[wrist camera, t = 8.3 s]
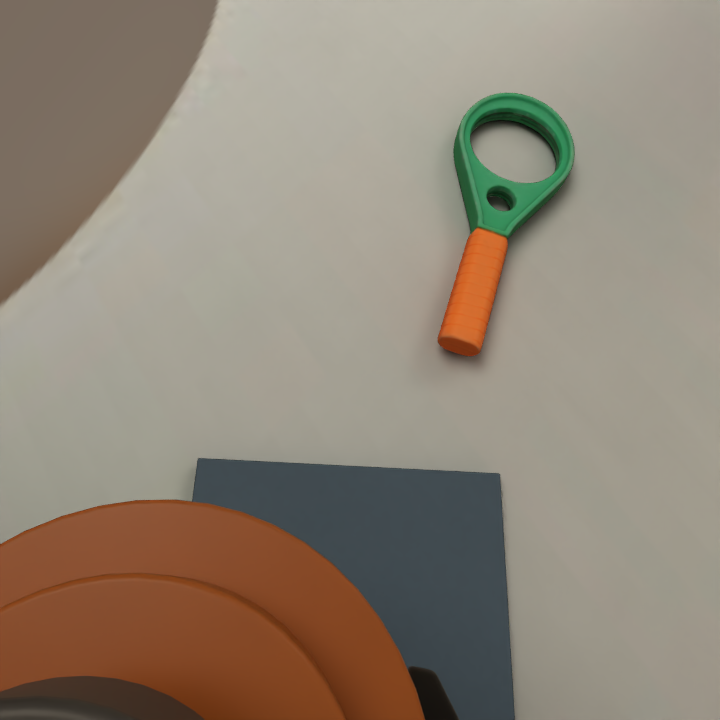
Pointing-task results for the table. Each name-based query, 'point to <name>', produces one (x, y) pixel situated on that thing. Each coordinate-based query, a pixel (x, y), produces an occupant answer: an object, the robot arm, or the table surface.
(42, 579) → the amber bottle
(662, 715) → the table surface
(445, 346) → the magnifying glass
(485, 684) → the placemat
